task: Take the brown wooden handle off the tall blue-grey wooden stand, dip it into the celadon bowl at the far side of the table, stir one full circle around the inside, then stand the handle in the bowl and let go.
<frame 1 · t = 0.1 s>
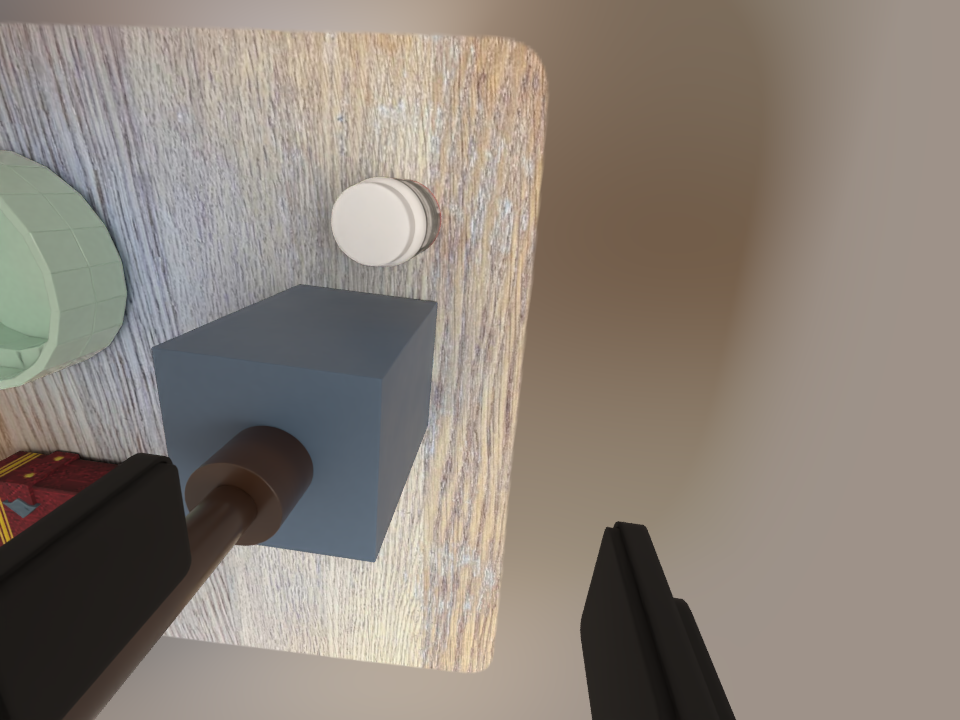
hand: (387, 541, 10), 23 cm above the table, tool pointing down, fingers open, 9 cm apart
decorative book: (125, 508, 41), on the table
brown wooden handle: (271, 463, 21), point 14 cm above the table, touching stand
bowl: (34, 262, 33), on the table
stand: (366, 358, 34), on the table
pill bottle: (408, 217, 30), on the table
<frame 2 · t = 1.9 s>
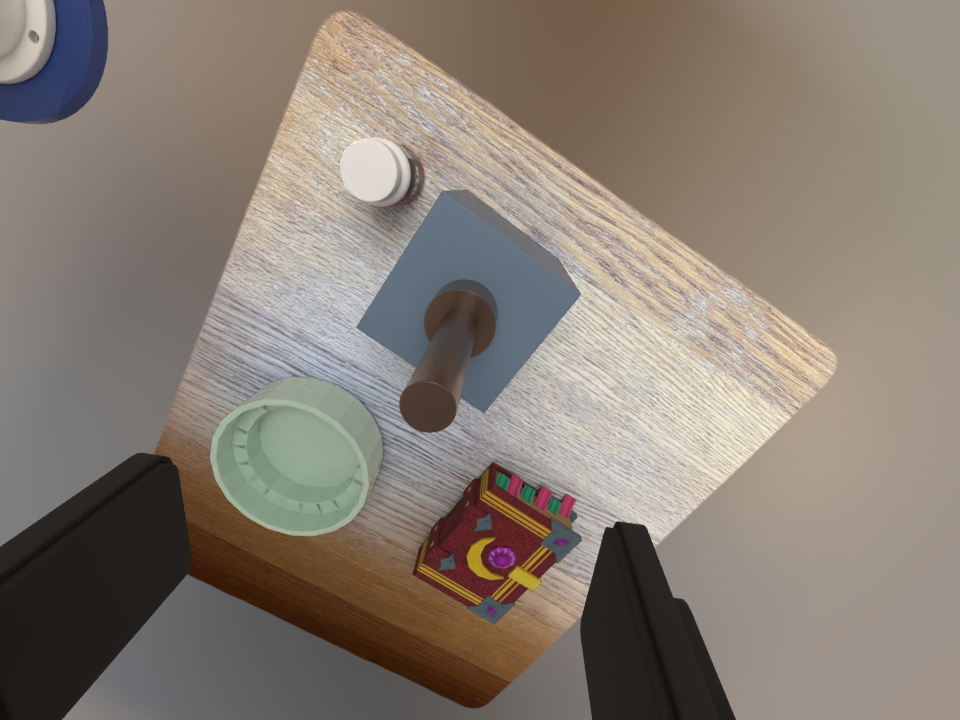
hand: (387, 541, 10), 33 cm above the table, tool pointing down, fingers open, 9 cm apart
decorative book: (497, 524, 51), on the table
brown wooden handle: (465, 311, 28), point 14 cm above the table, touching stand
bowl: (315, 439, 48), on the table
stand: (480, 271, 41), on the table
pill bottle: (398, 175, 39), on the table
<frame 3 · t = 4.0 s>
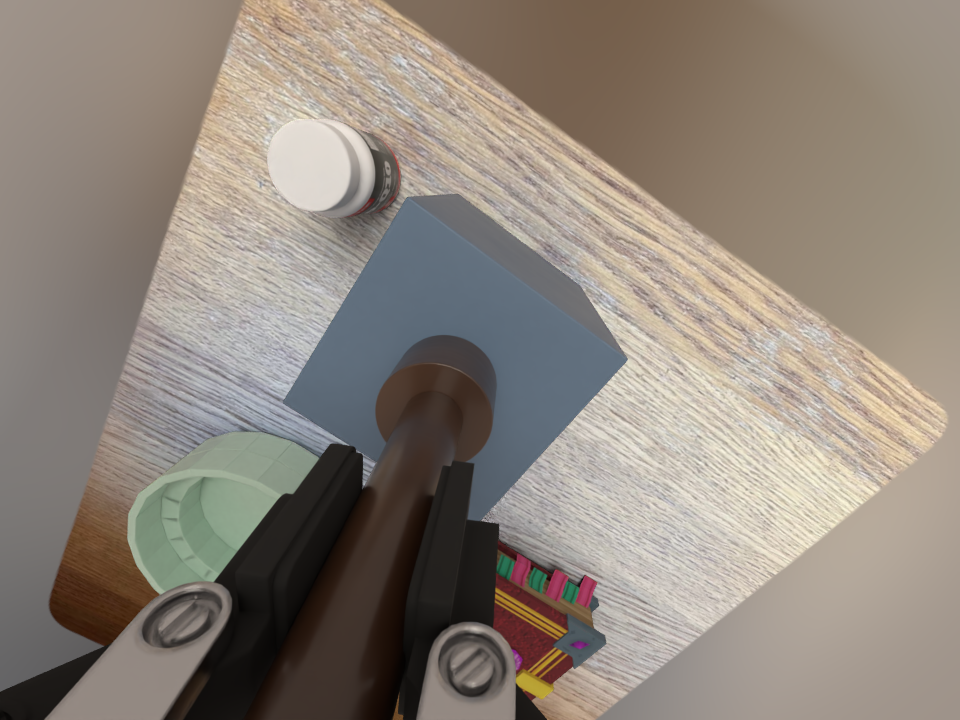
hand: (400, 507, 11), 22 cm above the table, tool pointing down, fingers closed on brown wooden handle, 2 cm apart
decorative book: (498, 608, 41), on the table
brown wooden handle: (446, 382, 18), point 14 cm above the table, touching gripper, stand
bowl: (270, 504, 39), on the table
stand: (476, 301, 31), on the table
pill bottle: (366, 174, 29), on the table
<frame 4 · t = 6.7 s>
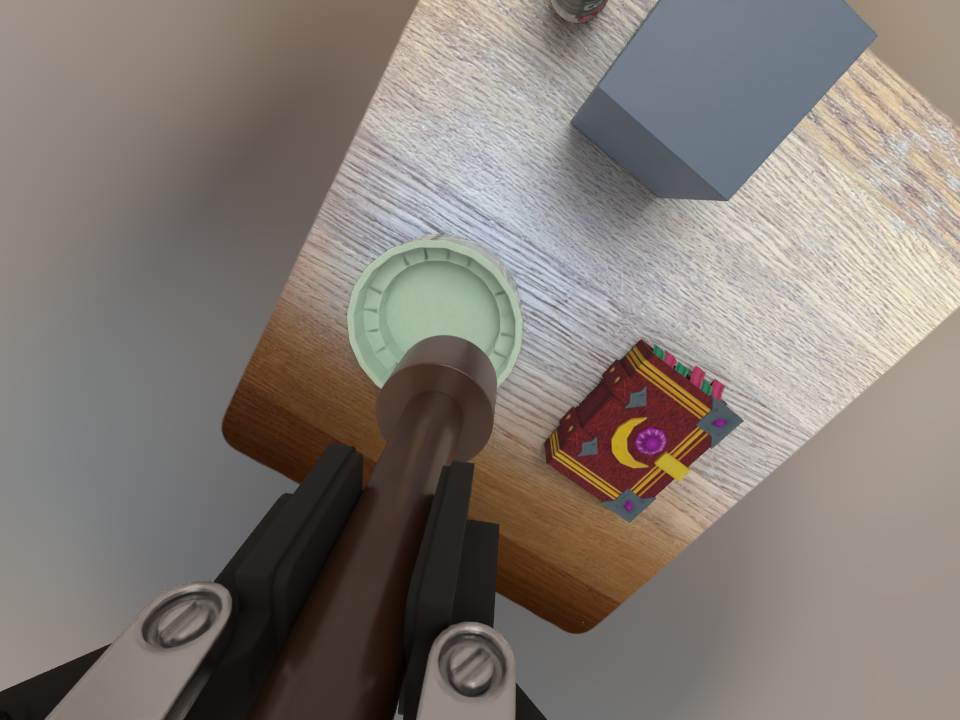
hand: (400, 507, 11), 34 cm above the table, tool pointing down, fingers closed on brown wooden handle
decorative book: (632, 416, 47), on the table
brown wooden handle: (446, 382, 18), point 27 cm above the table, touching gripper
bowl: (444, 313, 45), on the table
stand: (657, 107, 37), on the table
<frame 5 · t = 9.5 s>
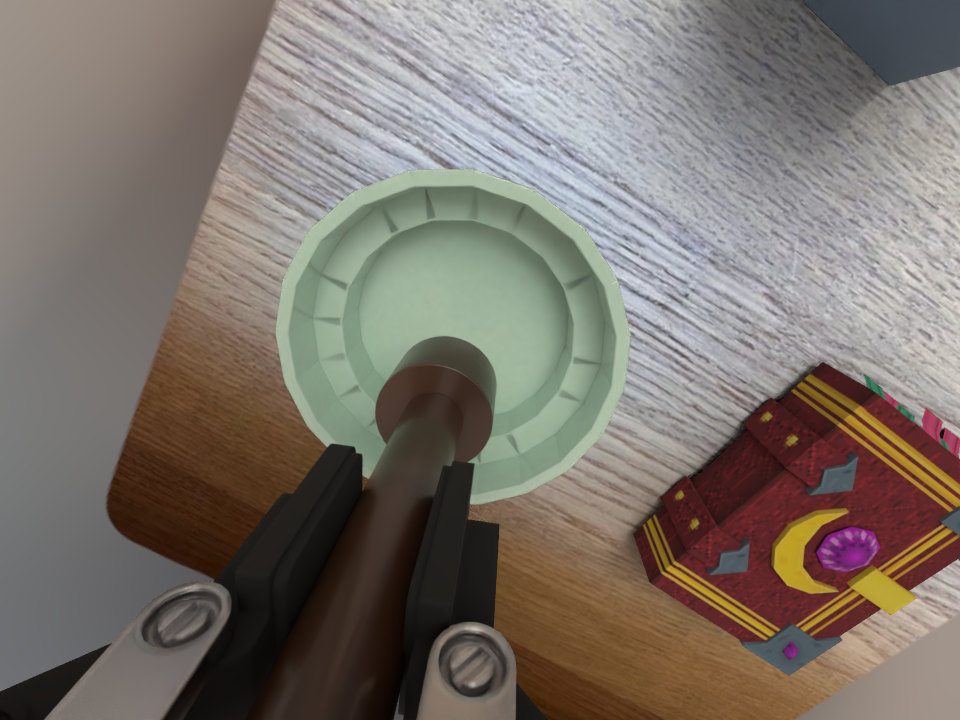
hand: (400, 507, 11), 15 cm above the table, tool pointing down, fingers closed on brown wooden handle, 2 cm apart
decorative book: (786, 489, 28), on the table
brown wooden handle: (446, 383, 18), point 8 cm above the table, touching gripper
bowl: (463, 321, 25), on the table
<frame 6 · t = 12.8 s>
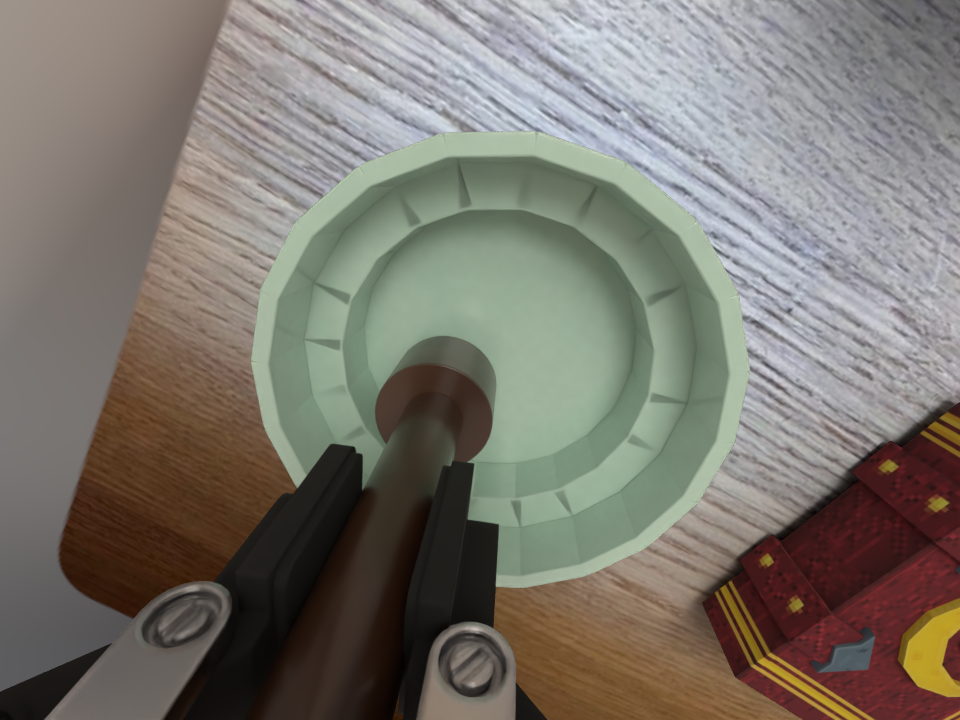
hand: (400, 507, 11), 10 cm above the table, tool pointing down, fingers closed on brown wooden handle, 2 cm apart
decorative book: (897, 551, 22), on the table
brown wooden handle: (446, 383, 18), point 2 cm above the table, touching gripper
bowl: (497, 342, 20), on the table
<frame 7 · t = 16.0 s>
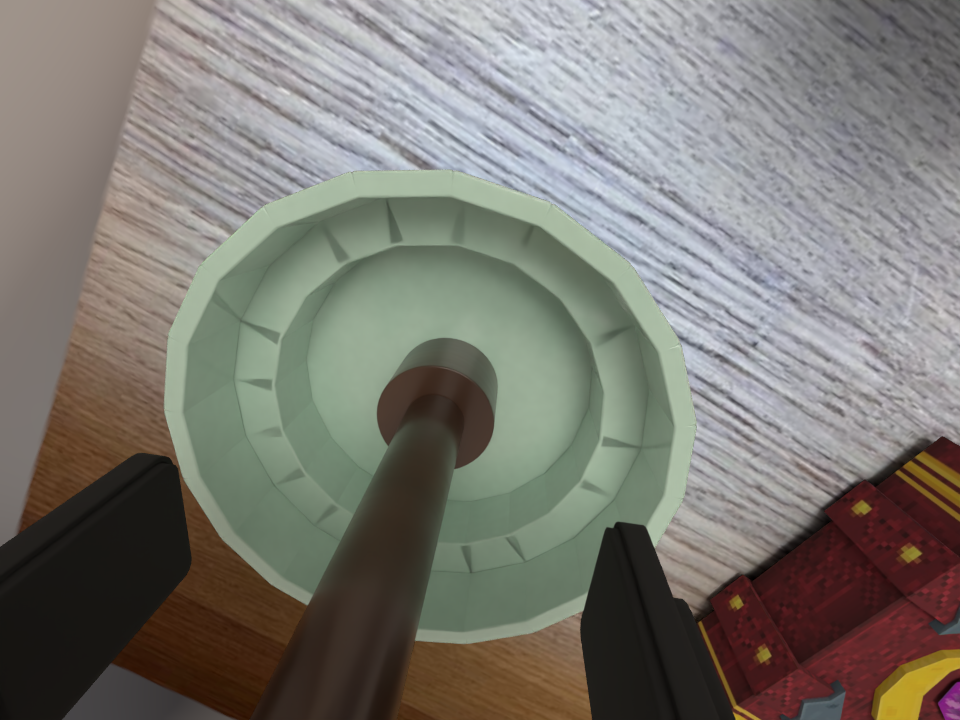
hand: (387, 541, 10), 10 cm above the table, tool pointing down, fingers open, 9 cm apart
decorative book: (874, 591, 21), on the table
brown wooden handle: (447, 385, 18), point 1 cm above the table, touching bowl
bowl: (449, 375, 19), on the table
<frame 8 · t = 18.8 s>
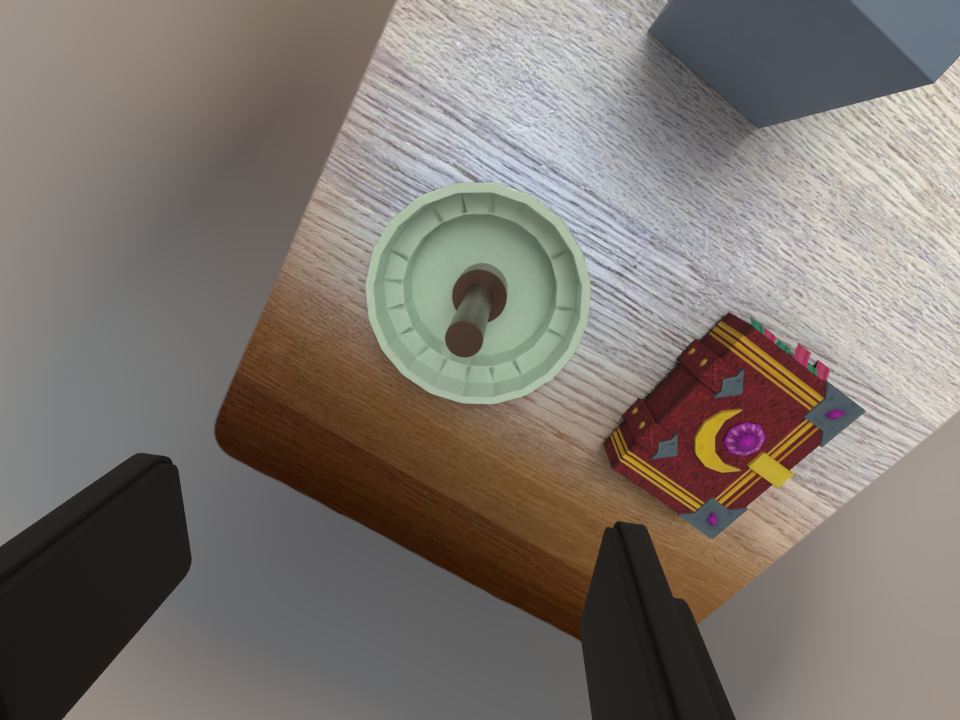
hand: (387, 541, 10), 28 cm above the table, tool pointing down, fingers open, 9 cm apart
decorative book: (712, 408, 39), on the table
brown wooden handle: (482, 288, 35), point 1 cm above the table, touching bowl
bowl: (482, 285, 36), on the table
stand: (762, 6, 29), on the table
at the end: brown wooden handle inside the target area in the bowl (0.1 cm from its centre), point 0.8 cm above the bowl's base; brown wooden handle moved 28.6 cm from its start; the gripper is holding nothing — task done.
